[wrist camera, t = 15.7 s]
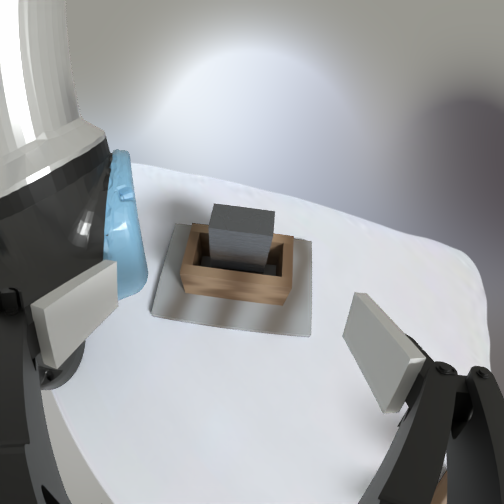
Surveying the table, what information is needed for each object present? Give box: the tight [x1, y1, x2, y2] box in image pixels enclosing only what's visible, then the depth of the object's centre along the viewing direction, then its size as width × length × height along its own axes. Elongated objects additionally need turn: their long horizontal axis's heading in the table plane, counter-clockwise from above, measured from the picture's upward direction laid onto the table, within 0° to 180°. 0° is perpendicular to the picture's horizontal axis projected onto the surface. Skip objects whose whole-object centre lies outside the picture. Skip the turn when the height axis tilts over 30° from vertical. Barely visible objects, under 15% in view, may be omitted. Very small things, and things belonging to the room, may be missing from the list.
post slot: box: [151, 223, 312, 337], centre depth 35 cm, size 20×14×6 cm
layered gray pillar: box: [208, 204, 275, 275], centre depth 32 cm, size 6×3×12 cm, turn 84°
